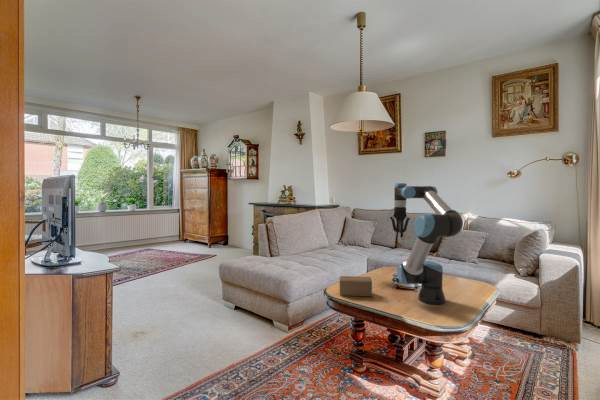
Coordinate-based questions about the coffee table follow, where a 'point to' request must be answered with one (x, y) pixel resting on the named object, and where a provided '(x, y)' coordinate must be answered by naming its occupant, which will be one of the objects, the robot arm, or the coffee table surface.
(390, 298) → the coffee table surface
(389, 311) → the coffee table surface
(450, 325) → the coffee table surface
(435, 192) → the robot arm
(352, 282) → the block
